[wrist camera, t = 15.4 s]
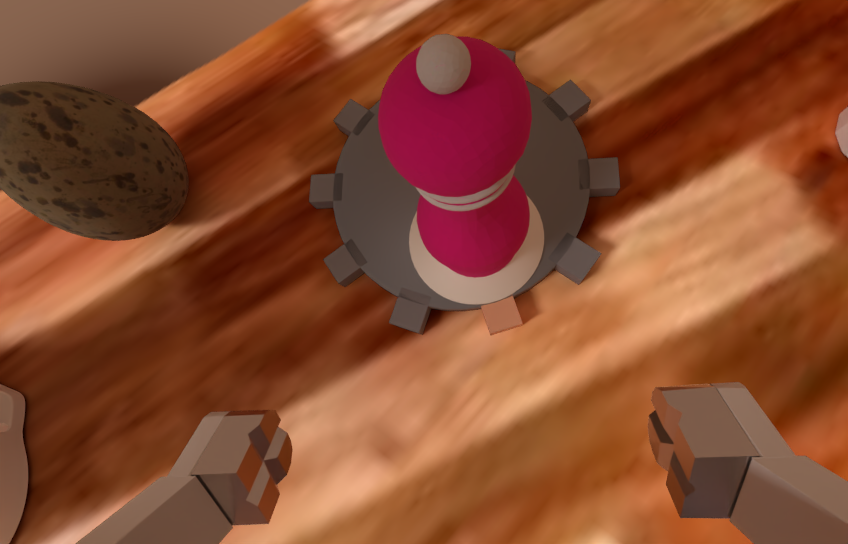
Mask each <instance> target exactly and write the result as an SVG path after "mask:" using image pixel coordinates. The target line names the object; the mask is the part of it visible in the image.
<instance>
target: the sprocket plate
mask: <svg viewBox="0 0 848 544" xmlns="http://www.w3.org/2000/svg"><path fill="white" fill-rule="evenodd" d="M499 50H500V51H502V52H503V53H504V54H506V55H507V56H508V57H509V58H510V59H511V60H512V61H513V62H514V63H515V51H510V50H504V49H499ZM525 82H526V85H527V87H528V90H529V94H530V101H531V110H532V122H531V128H530V135H529V139H528V142H527V145H526V147H525V150H524V153H523V155H522V156H521V157H520V159H519V160H518V161H517V163H516V165H515V170H514V174H513V175H514V176H515V177H516V179H517V180H518V181H519V182H520V184H521V186H522V187H523V189H524V191H525V193H526V196H527V199H528V204H529V210H530V221H529V228H528V233H527V235H526V238H525V240H524V242H523V244H522V245H521V247H520V249H519V250H518V251H517V252H516V254H515V255H514V257H513V258H512V260H511V261H510V262H509V263H508V264H507V265H506V266H505V267H504V268H502V269H501V270H500V271H498V272H496V273H494V274H492V275H489V276H486V277H476V278H474V277H466V276H463V275H460V274H458V273H456V272H454V271H452V270H451V269H449V268H448V267H446V266H445V265H443V264H441V263H440V262H439V261H437V260H436V259H435V258H434V257H433V256H432V255H431V254H430V253H429V252H428V250H427V249H426V247H425V245H424V244H423V241H422V239H421V236H420V233H419V229H418V225H417V206H418V201H419V198H420V193H419V191H418V190H417V189H416V187H415V186H413V185H411V184H410V183H409V182H408V181H407V180H406V179H405V178H404V177H402V176H401V175H400V174H399V173H398V172H397V170H396V169H395V168H394V167H393V165H392V164H391V162H390V160H389V159H388V157H387V155H386V153H385V150H384V147H383V144H382V140H381V136H380V132H379V127H378V112H379V104H380V100H381V99H380V100H379V101H378V102H377V103H376V104H375V105H374V106H373V107H372V108H371V109H370V110H368V109H366V108H365V107H363V106H361V105H360V104H358V103H357V102H355V101H353V100H352V99H350V100H349V101H348V103H347V104H346V105H345V107H344V108H343V109H342V110H341V112H340V113H339V114H338V115H337V117H336V118H335V119H334V120H333V121H334V122H335V124H336V125H337V127H338V128H339V130H341V131H342V132H344V133H345V134H347V135H348V136H349V137H348V139H347V141H346V143H345V145H344V147H343V149H342V152H341V155H340V157H339V160H338V163H337V167H336V172H335V174H319V175H311V184H310V196H309V203H311V204H312V205H313V206H314V207H315V208H316V209H320V208H334V213H335V219H336V224H337V227H338V230H339V233H340V236H341V238H342V240H343V242H344V245H342V246H341V247H339V248H338V249H337V250H335V251H334V252H333V253H331V254H330V255H328V256H327V257H326V258H324V259H323V260H324V262H325V263H326V265H327V267H328V268H329V270H330V271H331V273H332V274H333V276H334V277H335V279H336V281H337V282H338V284H340V285H342V286H344V287H346V286H347V285H349V284H350V283H351V282H353V281H354V280H355V279H357V278H358V277H360V276H361V275H362V274H364V273H366V275H367V276H369V277H370V278H371V279H372V280H373V281H375V282H376V283H377V284H378V285H380V286H381V287H382V288H384V289H385V290H387V291H389V292H390V293H392V294H393V295H395V296H397V297H398V298H397V301H396V304H395V307H394V310H393V313H392V315H391V318H390V321H389V323H391V324H393V325H396V326H399V327H401V328H404V329H407V330H410V331H413V332H416V333H419V334H422V335H423V332H424V329H425V326H426V323H427V320H428V317H429V314H430V311H431V309H435V310H442V311H469V310H478V309H482V311H483V314H484V317H485V320H486V323H487V326H488V329H489V332H490V335H494V334H497V333H500V332H503V331H506V330H509V329H513V328H516V327H519V326H522V324H523V323H522V320H521V317H520V315H519V312H518V309H517V306H516V303H515V301H514V298H515V297H517V296H519V295H521V294H523V293H524V292H526V291H528V290H530V289H531V288H532V287H534V286H535V285H536V284H538V283H539V282H540V281H542V280H543V279H544V278H545V277H546V276H547V275H548V274H549V273H550V272H551V271H552V270H553V269H555V270H557V271H558V272H560V273H561V274H563V275H564V276H566V277H567V278H569V279H571V280H572V281H574V282H575V283H577V284H578V285H579V284H580V282H581V281H582V280H583V279H584V277H585V276H586V274H587V273H588V272H589V270H590V269H591V267H592V266H593V265H594V263H595V262H596V260H597V259H598V258H599V256H600V255H601V253H600V252H598V251H597V250H595V249H593V248H592V247H590V246H589V245H587V244H585V243H584V242H582V241H580V240H579V239H577V238H576V236H577V234H578V232H579V230H580V227H581V225H582V222H583V220H584V217H585V213H586V209H587V205H588V201H589V197H597V196H615V195H616V193H617V192H618V190H619V189H620V180H619V168H618V157H614V158H596V159H588V157H587V152H586V149H585V146H584V144H583V141H582V138H581V136H580V134H579V132H578V130H577V128H576V126H575V124H574V123H573V121H575V120H576V119H577V118H579V117H580V116H582V115H583V114H584V113H586V112H587V111H588V108H589V105H590V102H591V100H590V99H589V98H588V97H587V96H586V95H585V94H584V93H583V92H582V90H581V89H580V88H579V87H578V86H577V85H576V84H575V83H574V82H573V81H572V80H569V81H568V82H566V83H565V84H564V85H562V86H561V87H560V88H558V89H557V90H555V91H554V92H553V93H551V94H550V95H548V94H547V93H545V92H544V91H543V90H541V89H540V88H538V87H536V86H535V85H533V84H531V83H530V82H528V81H526V80H525Z"/></svg>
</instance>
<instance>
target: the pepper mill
mask: <svg viewBox="0 0 848 544" xmlns="http://www.w3.org/2000/svg"><path fill="white" fill-rule="evenodd" d="M531 122H532V110H531V101H530V94H529V90H528V87H527V85H526V82H525V80H524V78H523V76H522V75H521V73H520V71H519V70H518V68H517V66H516V65H515V63H514V62H513V61H512V60H511V59H510V58H509V57H508V56H507V55H506V54H504V53H503V52H502V51H500V50H499V49H498V48H496V47H494V46H493V45H491V44H489V43H487V42H485V41H483V40H479V39H475V38H470V37H455V36H453V35H449V34H441V35H435V36H433V37H431V38H430V39H428V40H427V41H426V42H425V43H424V44H423V45H422V46H420V47H419V48H417V49H416V50H414V51H413V52H411V53H410V54H408V55H407V56H406V57H405V58H404V59H403V60H402V61H401V62H400V63H399V64H398V65H397V67H396V68H395V69H394V71H393V72H392V73H391V75H390V76H389V78H388V80H387V82H386V84H385V86H384V88H383V91H382V95H381V100H380V104H379V112H378V127H379V132H380V136H381V140H382V144H383V147H384V150H385V153H386V155H387V157H388V159H389V160H390V162H391V164H392V165H393V167H394V168H395V169H396V170H397V172H398V173H399V174H400V175H401V176H402V177H404V178H405V179H406V180H407V181H408V182H409V183H410V184H411V185H413V186H415V187H416V189H417V190H418V191H419V193H420V198H419V201H418V206H417V225H418V229H419V233H420V236H421V239H422V241H423V244H424V245H425V247H426V249H427V250H428V252H429V253H430V254H431V255H432V256H433V257H434V258H435V259H436V260H437V261H439V262H440V263H441V264H443V265H445V266H446V267H448V268H449V269H451V270H452V271H454V272H456V273H458V274H460V275H463V276H466V277H474V278H476V277H486V276H489V275H492V274H494V273H496V272H498V271H500V270H501V269H502V268H504V267H505V266H506V265H507V264H508V263H509V262H510V261H511V260H512V258H513V257H514V255H515V254H516V252H517V251H518V250H519V249H520V247H521V245H522V244H523V242H524V240H525V238H526V235H527V233H528V228H529V221H530V210H529V204H528V199H527V196H526V193H525V191H524V189H523V187H522V186H521V184H520V182H519V181H518V180H517V179H516V177H515V176H514V175H513V174H514V170H515V165H516V163H517V161H518V160H519V159H520V157H521V156H522V155H523V153H524V150H525V147H526V145H527V142H528V139H529V135H530V128H531Z"/></svg>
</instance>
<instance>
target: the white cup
mask: <svg viewBox="0 0 848 544" xmlns="http://www.w3.org/2000/svg"><path fill="white" fill-rule="evenodd" d="M835 135H836V137H837V140H838V143H839V146H840V149H841V151H842V153H843V154H844V155H845V156H846V157H847V158H848V106H847V107H846V108H845V109H844V110H843V111H842V112H841V113H840V114H839V118H838V122H837V126H836V131H835Z"/></svg>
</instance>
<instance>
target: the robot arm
mask: <svg viewBox="0 0 848 544" xmlns="http://www.w3.org/2000/svg"><path fill="white" fill-rule="evenodd" d="M651 401H652V404H653V406H654V408H655V411H654V412H652V413H651V414H650V415H649V419H648V434H649V441H650V444H651V448H652V451H653V454H654V456H655V459H656V461H657V463H658V464H659V465H660V466H661V467H663V468H664V469H665V470H667V471H668V476H667V481H666V486H667V488H668V490H669V493H670V495H671V497H672V500H673V502H674V504H675V507H676V509H677V512H678V514H679V516H680V518H730V522H731V523H732V524H734V525H735V526H736V527H737V528H738V529H739V530H740V531H741V532H742V533H743V534H744V535H745V536H746V537H747V538H749V539H750V540H751V541H752V542H753V543H754V544H848V482H847V481H846V480H844V479H843V478H841V477H839V476H838V475H836V474H834V473H833V472H831V471H829V470H828V469H826V468H825V467H823V466H821V465H820V464H818V463H816V462H815V461H813V460H811V459H810V458H808V457H807V456H796V455H795V454H794V452H793V451H792V450H791V448H790V447H789V446H788V444H787V443H786V442H785V440H784V439H783V437H782V436H781V435H780V433H779V432H778V431H777V429H776V428H775V427H774V425H773V424H772V422H771V421H770V420H769V418H768V417H767V416H766V414H765V413H764V412H763V410H762V409H761V408H760V406H759V405H758V403H757V402H756V401H755V399H754V398H753V397H752V395H751V394H750V393H749V391H748V390H747V388H746V387H745V386H744V385H742V384H741V383H739V382H734V383H717V384H697V385H682V386H668V387H655V389H654V390H653V392H652V398H651ZM24 416H25V399H24V397H23V395H22V394H21V393H20V392H18V391H15V390H13V389H11V388H8V387H6V386H4V385H1V384H0V544H9V543H10V541H11V539H12V538H13V536H14V534H15V531H16V529H17V527H18V524H19V522H20V519H21V516H22V513H23V509H24V506H25V501H26V496H27V489H28V462H27V456H26V451H25V446H24V442H23V433H22V431H23V424H24ZM280 421H281V420H280V418H279V416H278V414H277V413H276V411H275V410H249V411H224V412H210V413H209V414H208V415H206V416H205V417H204V418H203V419H202V421H201V423H200V424H199V426H198V427H197V429H196V431H195V432H194V434H193V436H192V437H191V439H190V440H189V442H188V444H187V445H186V447H185V448H184V450H183V452H182V453H181V455H180V456H179V458H178V460H177V461H176V463H175V465H174V466H173V468H172V469H171V471H170V473H169V474H168V476H167V477H160V478H159V479H158V480H156V481H155V482H154V483H152V484H151V485H150V486H149V487H147V488H146V489H145V490H144V491H142V492H141V493H140V494H138V495H137V496H136V497H135V498H133V499H132V500H131V501H129V502H128V503H127V504H126V505H124V506H123V507H122V508H121V509H119V510H118V511H117V512H115V513H114V514H113V515H112V516H110V517H109V518H108V519H106V520H105V521H104V522H103V523H101V524H100V525H99V526H97V527H96V528H95V529H94V530H92V531H91V532H90V533H89V534H87V535H86V536H85V537H83V538H82V539H81V540H80V541H78V542H77V543H76V544H219V543H220V542H221V541H222V539H223V538H224V537H225V536H226V535H227V534H228V533H229V531H230V530H231V529H232V528H233V527H232V525H251V524H269V522H270V519H271V516H272V514H273V511H274V508H275V506H276V503H277V500H278V498H279V495H280V493H279V490H278V486H277V484H278V483H279V482H280V481H281V480H282V479H283V478H284V477H285V476H286V475H287V473H288V470H289V467H290V464H291V458H292V445H291V440H290V438H289V436H288V433H287V432H285V431H284V430H282V429H281V428H279V427H278V425H279V423H280Z"/></svg>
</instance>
